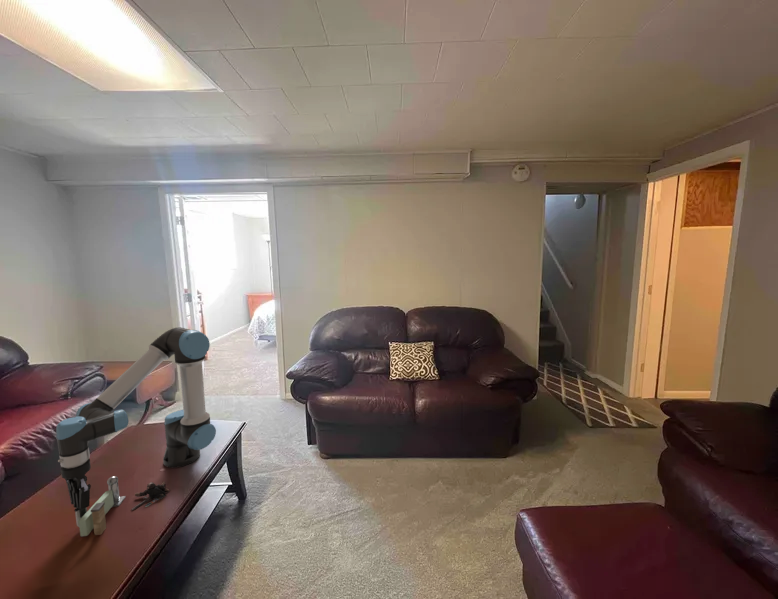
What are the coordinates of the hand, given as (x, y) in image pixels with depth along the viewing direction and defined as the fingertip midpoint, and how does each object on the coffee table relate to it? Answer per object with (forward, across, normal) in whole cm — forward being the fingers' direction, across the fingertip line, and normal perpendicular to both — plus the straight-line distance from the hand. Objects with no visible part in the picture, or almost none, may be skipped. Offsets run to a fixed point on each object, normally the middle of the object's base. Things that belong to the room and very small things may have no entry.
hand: (82, 523), depth 122 cm
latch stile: (+2, +7, +2) cm, 7 cm away
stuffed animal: (+3, +4, +21) cm, 21 cm away
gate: (+1, +1, +4) cm, 4 cm away
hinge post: (+2, -5, +12) cm, 13 cm away
